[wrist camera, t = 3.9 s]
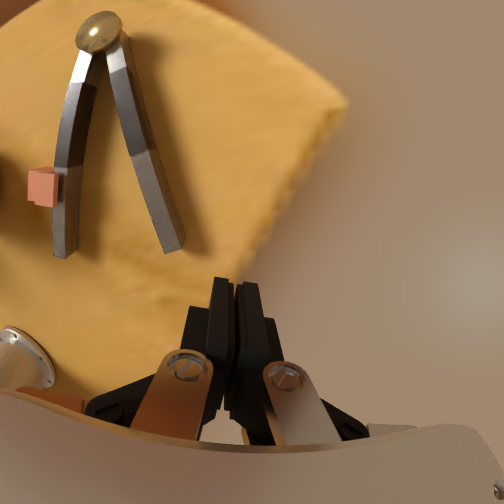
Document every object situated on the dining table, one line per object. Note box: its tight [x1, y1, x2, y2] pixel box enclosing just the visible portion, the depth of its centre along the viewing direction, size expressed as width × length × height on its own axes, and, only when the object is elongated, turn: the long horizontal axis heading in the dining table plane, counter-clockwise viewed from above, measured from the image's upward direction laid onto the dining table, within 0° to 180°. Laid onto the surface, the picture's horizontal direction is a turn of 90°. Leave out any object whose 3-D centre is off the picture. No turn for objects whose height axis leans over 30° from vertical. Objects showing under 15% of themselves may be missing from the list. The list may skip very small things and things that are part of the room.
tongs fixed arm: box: [52, 11, 122, 259], centre depth 19 cm, size 24×4×4 cm, turn 167°
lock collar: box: [27, 167, 59, 207], centre depth 20 cm, size 3×4×4 cm
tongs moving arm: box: [105, 30, 186, 254], centre depth 20 cm, size 22×2×3 cm, turn 15°
